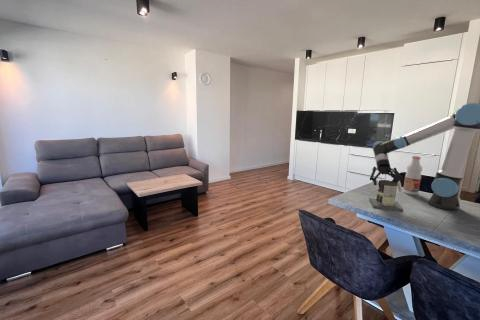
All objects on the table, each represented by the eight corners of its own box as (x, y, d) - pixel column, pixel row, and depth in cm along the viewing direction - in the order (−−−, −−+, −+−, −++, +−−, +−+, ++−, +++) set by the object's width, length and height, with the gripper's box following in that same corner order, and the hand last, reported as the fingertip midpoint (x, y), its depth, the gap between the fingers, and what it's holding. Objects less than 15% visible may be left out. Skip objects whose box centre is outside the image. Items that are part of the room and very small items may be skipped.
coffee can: (372, 202, 151) (375, 181, 148) (379, 199, 157) (382, 179, 154) (390, 207, 143) (393, 185, 140) (397, 203, 149) (400, 182, 146)
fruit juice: (404, 190, 182) (409, 155, 176) (418, 193, 175) (425, 156, 170) (401, 192, 175) (407, 156, 170) (416, 196, 169) (423, 158, 163)
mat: (396, 203, 154) (396, 201, 154) (402, 211, 141) (403, 209, 141) (369, 200, 159) (369, 197, 159) (373, 207, 146) (373, 205, 146)
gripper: (399, 165, 158) (408, 194, 147) (361, 163, 162) (366, 191, 151) (405, 159, 152) (414, 189, 140) (364, 157, 156) (370, 186, 144)
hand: (389, 190), depth 145 cm, fingers open, 12 cm apart
